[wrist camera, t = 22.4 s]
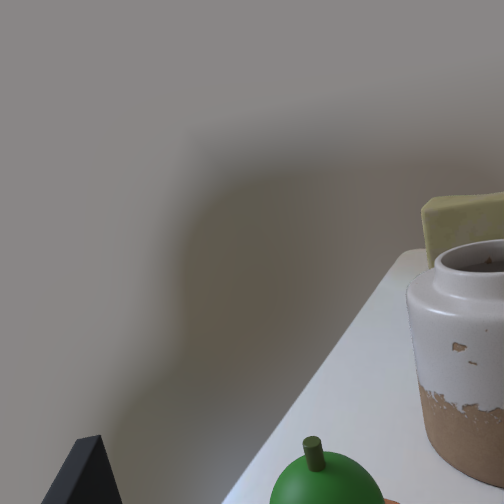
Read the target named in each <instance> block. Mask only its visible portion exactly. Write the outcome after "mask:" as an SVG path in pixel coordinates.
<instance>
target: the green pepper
mask: <svg viewBox="0 0 504 504" xmlns="http://www.w3.org/2000/svg"><path fill="white" fill-rule="evenodd" d="M303 448H304V453H305V455H304V456H302V457H300V458H298V459H296V460H295V461H293V462H292V463H291V464H290V465H289V466H287V467H286V469H285V470H284V471H283V472H282V473H281V475H280V476H279V478H278V480H277V481H276V483H275V486H274V488H273V491H272V494H271V498H270V504H385V501H384V498H383V496H382V493H381V491H380V489H379V487H378V485H377V484H376V482H375V481H374V479H373V478H372V476H371V475H370V474H369V473H368V472H367V471H366V470H365V469H364V468H363V467H362V466H361V465H360V464H358V463H357V462H355V461H354V460H352V459H350V458H348V457H346V456H344V455H341V454H338V453H333V452H323V449H322V444H321V440H320V439H319V438H318V437H316V436H310V437H307V438H305V439H304V441H303Z"/></svg>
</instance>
